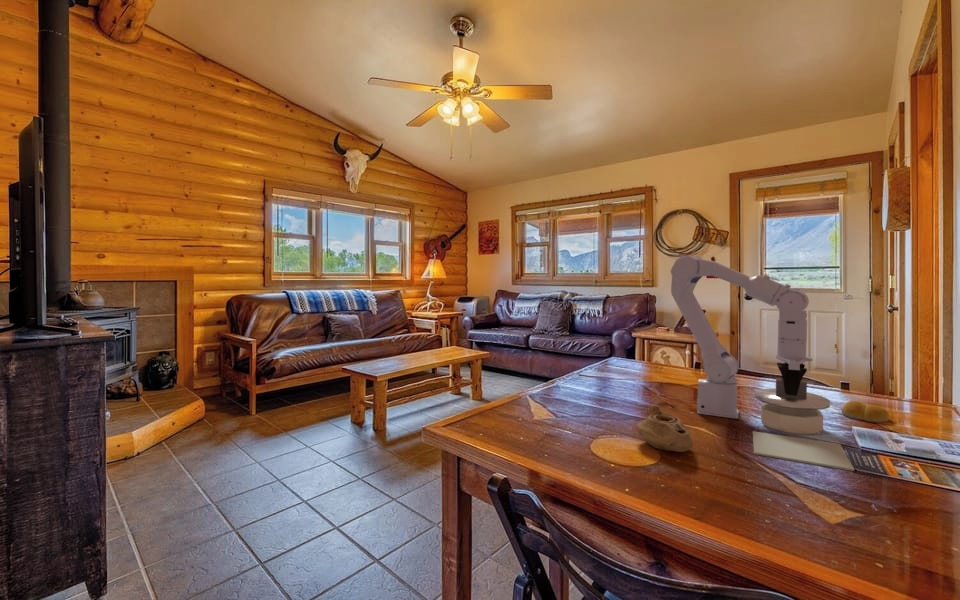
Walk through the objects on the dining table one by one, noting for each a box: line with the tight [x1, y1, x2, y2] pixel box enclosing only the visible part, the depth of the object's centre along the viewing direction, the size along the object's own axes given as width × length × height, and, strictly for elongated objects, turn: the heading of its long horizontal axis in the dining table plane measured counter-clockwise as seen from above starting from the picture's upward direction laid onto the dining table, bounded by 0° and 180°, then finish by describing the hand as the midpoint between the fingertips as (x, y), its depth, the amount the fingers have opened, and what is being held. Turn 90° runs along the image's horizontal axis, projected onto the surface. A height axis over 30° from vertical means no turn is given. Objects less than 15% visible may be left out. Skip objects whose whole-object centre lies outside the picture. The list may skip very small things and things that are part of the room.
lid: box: [754, 377, 831, 411], centre depth 105 cm, size 15×15×5 cm
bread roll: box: [841, 400, 890, 423], centre depth 111 cm, size 8×9×4 cm
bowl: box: [760, 402, 824, 436], centre depth 105 cm, size 12×12×4 cm
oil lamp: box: [635, 404, 694, 453], centre depth 93 cm, size 11×15×8 cm
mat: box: [752, 430, 855, 472], centre depth 91 cm, size 16×14×1 cm
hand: (790, 393), depth 105 cm, fingers closed on lid, 2 cm apart
